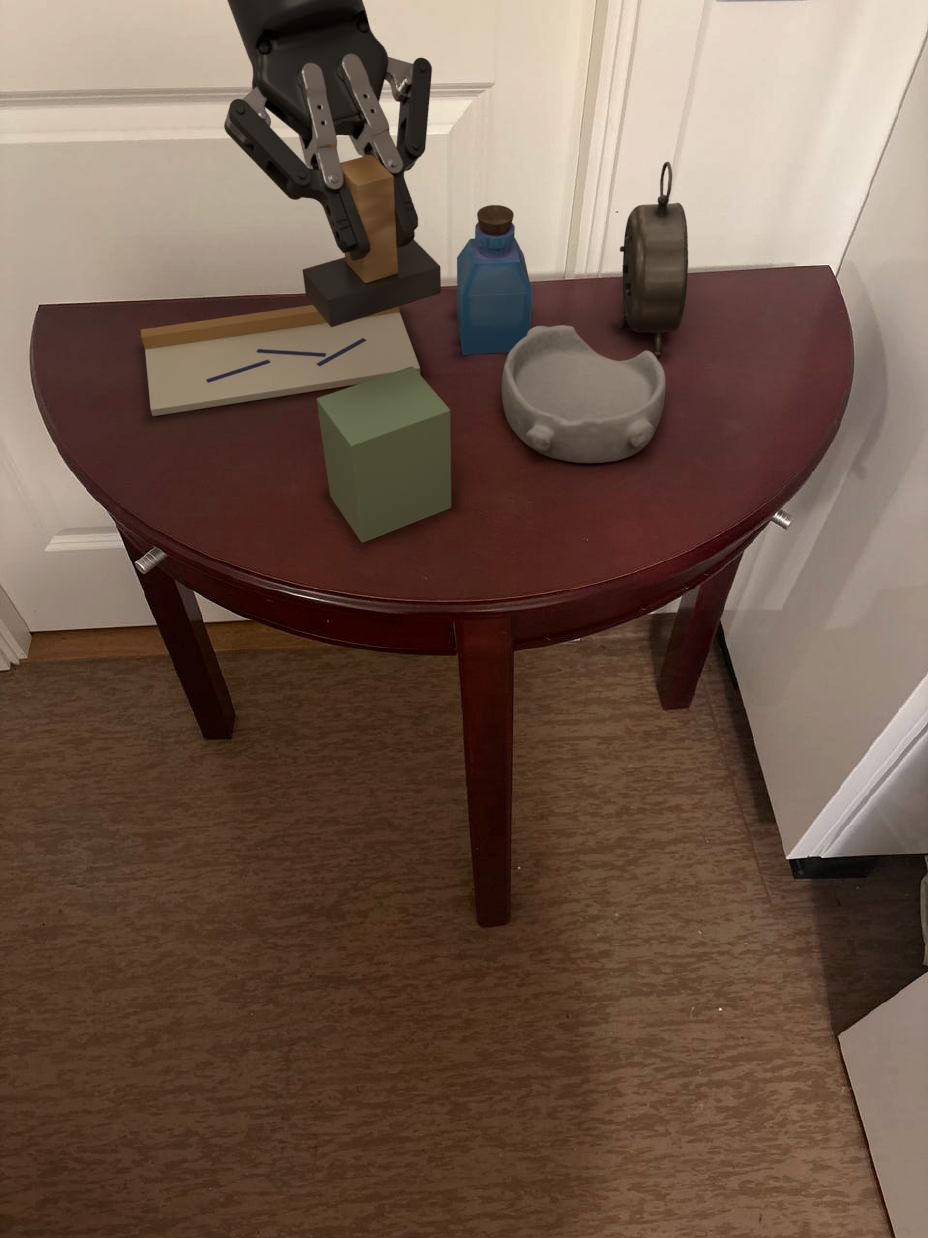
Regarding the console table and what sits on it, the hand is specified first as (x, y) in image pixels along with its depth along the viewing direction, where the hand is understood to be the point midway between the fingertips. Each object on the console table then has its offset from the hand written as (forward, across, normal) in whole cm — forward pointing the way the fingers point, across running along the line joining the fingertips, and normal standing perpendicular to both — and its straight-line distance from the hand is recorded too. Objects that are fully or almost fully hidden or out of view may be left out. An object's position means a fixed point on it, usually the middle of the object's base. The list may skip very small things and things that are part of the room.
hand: (384, 247), depth 62 cm
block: (+15, 0, +18) cm, 24 cm away
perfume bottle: (+4, +19, +29) cm, 35 cm away
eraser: (+2, 0, +5) cm, 5 cm away
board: (0, 0, +33) cm, 33 cm away
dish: (+14, +19, +19) cm, 30 cm away
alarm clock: (+9, +32, +25) cm, 41 cm away
